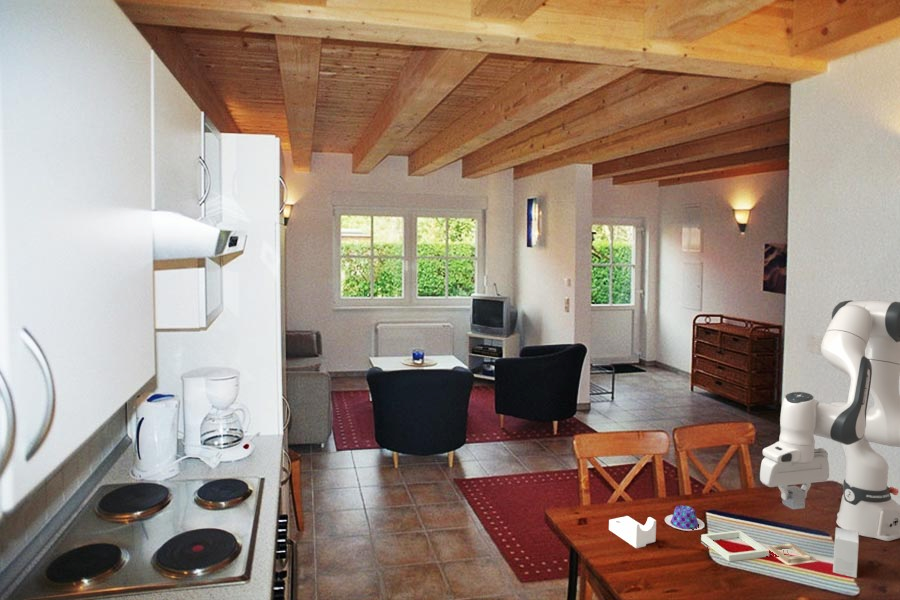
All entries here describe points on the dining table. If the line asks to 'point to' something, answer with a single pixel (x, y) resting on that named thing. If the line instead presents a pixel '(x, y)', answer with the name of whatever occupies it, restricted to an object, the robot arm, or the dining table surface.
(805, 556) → the socket holder
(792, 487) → the gray block
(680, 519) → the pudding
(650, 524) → the bracket
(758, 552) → the tray
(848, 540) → the small box
